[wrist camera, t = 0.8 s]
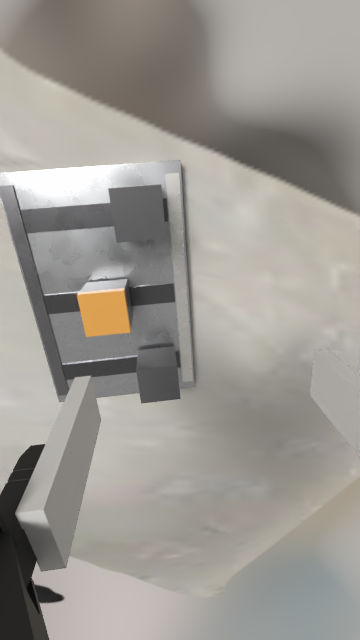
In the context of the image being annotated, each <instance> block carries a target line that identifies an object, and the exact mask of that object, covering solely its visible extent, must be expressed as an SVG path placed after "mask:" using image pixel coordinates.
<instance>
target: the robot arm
mask: <svg viewBox="0 0 360 640" xmlns="http://www.w3.org/2000/svg"><path fill="white" fill-rule="evenodd" d="M310 396H311V398H312V399H313V400H314V401H315V403H316V404H317V405H318V406H319V408H320V409H321V410H322V411H323V413H324V414H325V415H326V416H327V418H328V419H329V420H330V421H331V423H332V424H333V425H334V426H335V428H336V429H337V430H338V431H339V433H340V434H341V435H342V436H343V438H344V439H345V440H346V441H347V443H348V444H349V445H350V446H351V448H352V449H353V450H354V451H355V453H356V454H357V455H358V456H359V458H360V375H359V374H358V373H357V372H356V371H355V370H354V369H352V368H351V367H350V366H349V365H348V364H346V363H345V362H344V361H343V360H342V359H341V358H339V357H338V356H337V355H336V354H335V353H334V352H332V351H331V350H330V349H326V350H317V351H315V354H314V362H313V371H312V379H311V387H310ZM100 422H101V417H100V413H99V409H98V405H97V400H96V396H95V392H94V387H93V383H92V379H91V376H83V377H75V378H74V381H73V383H72V385H71V387H70V390H69V392H68V394H67V397H66V399H65V401H64V403H63V406H62V408H61V410H60V412H59V415H58V417H57V419H56V422H55V424H54V426H53V428H52V431H51V433H50V435H49V437H48V440H47V442H46V444H42V445H34V446H30V447H29V448H28V449H27V450H26V451H25V452H24V453H23V455H22V456H21V457H20V458H19V460H18V462H17V464H16V466H15V468H14V469H13V473H11V475H10V477H9V479H8V483H6V485H5V487H4V489H3V491H2V493H1V495H0V640H49V637H48V634H47V630H46V626H45V623H44V619H43V615H42V611H41V608H40V604H39V600H38V596H37V593H36V589H35V585H34V582H33V580H32V578H31V577H32V573H33V570H34V567H35V564H36V561H37V563H38V565H39V567H40V570H41V571H48V570H55V569H62V568H66V566H67V562H68V558H69V553H70V549H71V545H72V541H73V537H74V532H75V528H76V524H77V520H78V515H79V511H80V507H81V503H82V498H83V494H84V490H85V486H86V482H87V477H88V473H89V469H90V465H91V460H92V456H93V452H94V448H95V443H96V439H97V435H98V431H99V427H100Z"/></svg>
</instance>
